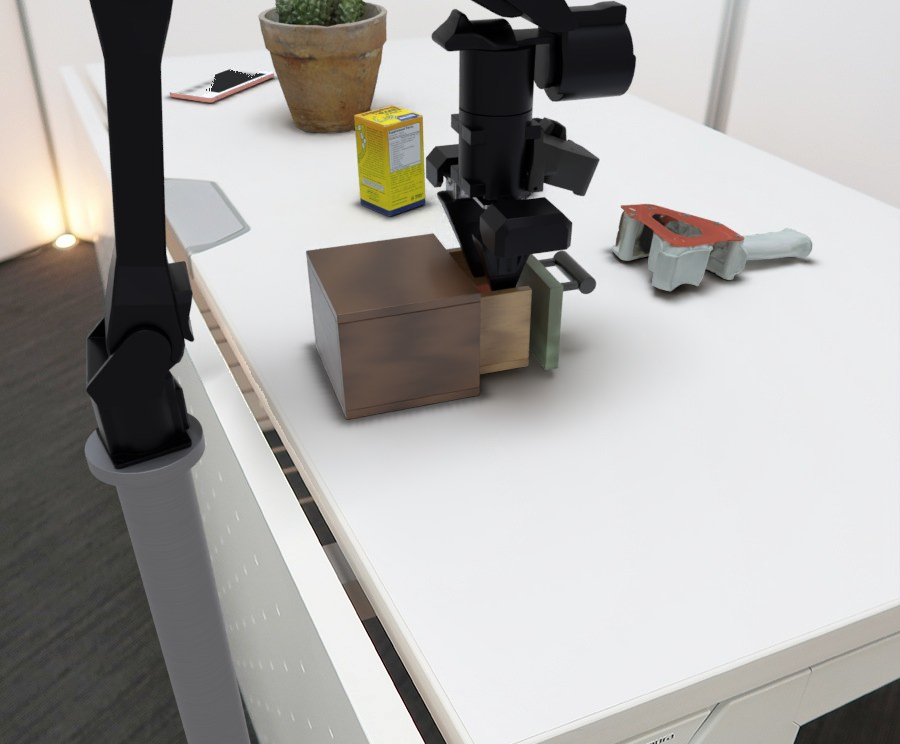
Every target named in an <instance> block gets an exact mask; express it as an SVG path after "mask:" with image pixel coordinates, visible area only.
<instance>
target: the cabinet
mask: <svg viewBox="0 0 900 744" xmlns="http://www.w3.org/2000/svg"><path fill="white" fill-rule="evenodd" d="M446 249H447V248H446V247H445V246H444V245H443V243H442V242H441V241H440V239H439V238H438V237H437V236H436V234H435V233H433V232H432V233H425V234H419V235H410V236H403V237H397V238H389V239H382V240H375V241H368V242H359V243H353V244H344V245H337V246H331V247H330V246H329V247H324V248H323V247H322V248H315V249H308V250H305V256H306V257H305V258H306V265H307V274H308V276H307V277H308V284H309V294H310V303H311V304H310V305H311V313H312V314H311V315H312V320H313V322H312V323H313V332H314V340H315V341H314V342H315V348H316V350H317V353H318V355H319V358H320V360H321V362H322V365H323V367H324V370H325V372H326V375H327V377H328V379H329V382H330V384H331V386H332V389H333V391H334V393H335V395H336V399H337V401H338V403H339V406H340V407H341V410H342V412H343V415H344V417H345V420H352V419H358V418H362V417H368V416H372V415H373V416H374V415H379V414H383V413H390V412H396V411H400V410H406V409H411V408H416V407H423V406H427V405H433V404H439V403H443V402H449V401H455V400H460V399H465V398H466V399H467V398H470V397H475V396H480V388H481V387H480V386H481V385H480V383H481V382H480V380H481V379H480V378H481V377H480V376H481V374H480V308H481V302H480V300H481V293H480V292H479V290H478V289H477V288H476V286H475V285H474V284H473V283H472V281H471V280H470V279H469V278H468V276H467V275H466V274H465V273H464V271H463V270H462V269H461V267H460V266H459V265H458V264H457V262H456V261H455V260H454V259H453V257H452V256H451V255H450V254H449V252H448V251H447V250H446Z"/></svg>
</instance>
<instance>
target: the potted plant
mask: <svg viewBox="0 0 900 744" xmlns="http://www.w3.org/2000/svg"><path fill="white" fill-rule="evenodd" d="M274 4H275V5H274V7H271V8H267V9H265V10H263V11H262V12H260V13H259V14H258V15H257V17H258V21H259V25H260V32H261V35H262V38H263V43H264V47H265V49H266V50H267V51H268V52H269V54H270V59H271V62H272V66H273V69H274V73H275V74H276V78H277V81H278V84H279V85H280V88H281V91H282V94H283V96H284V100H285V102H286V105H287V108H288V111H289V113H290V117H291V120H292V122H293V124H294V125H295V127H296V128H298V129H299V130H302V131H304V132H307V133H309V132H310V133H319V134H341V133H346V132H351V131H355V120H354V115H357V114H361V113H365V112H369V111H371V109H372V104H373V101H374V97H375V92H376V88H377V83H378V78H379V71H380V67H381V64H382V59H383V49H384V45H385V44H386V42H387V16H388V15H387V14H388V10H387V9H386V7H385V6H383V5H380V4H376V3H373V2H367V1H364V0H275V2H274Z"/></svg>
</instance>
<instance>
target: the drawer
mask: <svg viewBox="0 0 900 744" xmlns="http://www.w3.org/2000/svg"><path fill="white" fill-rule="evenodd" d="M446 250H447V251H448V252H449V254H450V255H451V256H452V257H453V259H454V260H455V261H456V262H457V264H458V265H459V266H460V267H461V269H462V270H463V271H464V273H465V274H466V275H467V276H468V278H469V279H470V280H471V281H472V283H473V284H474V285H475V286H479V285H486V284H488V281H487V278H486V275H485V276H483V277H478V278H475V277H473V275H472V273H471V271H470V268H469V266H468V264H467V261H466V259H465V257H464V254H463V252H462V250H461V247H460V246H458V247H452V248H446ZM551 267H552V268H553V267H556V268H557V270H559V272H560V273H561V274H562V275H563V276H564V277H565V278H566V279H567V280H568V281H566V282H560V281H559V280H558V279H557V278H556V277H555V276H554V275H553V274H552V273H551V272H550V271H549V270H548V268H551ZM596 287H597V281H596V279H595V278H594V277H593V276H592V275H591V274H590V273H589V272H588V270H586V269H585V268H584V267H583V266H582V265H581V264H579V262H578V261H577V260H576V259H575V258H574V257H573V256H571V255H570V254H569V253H568V252H567V251H566V250H559V251H556V252H555V254H554V255H553V256H552V257H550V258H549V257H548V258H542V259H537V258H536V256H535V254H530V256H529V258H528V260H527V262H526V264H525V266H524V268H523V270H522V273H521V275H520V278H519V280H518V283H517V285H516V288H510V289H504V290H497V291H491V292H484V293H481V300H480V302H481V308H480V375H485V374H488V373H489V374H490V373H495V372H501V371H506V370H513V369H517V368H524V367H529V361H530V360H529V359H530V358H529V355H530V353H531V355H532V356H534V358H535V359H536V361H538V363H539V364H540V365H541V366H542V368H543V369H544V370H545V371H549V370H553V369H558V368H559V356H560V343H561V342H560V340H561V326H562V312H563V301H564V300H563V298H564V292H570V291H576V290H578V291H579V292H580V293H581V294H583V295H589V294H591V293H592V292H594V291H595V289H596Z"/></svg>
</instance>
